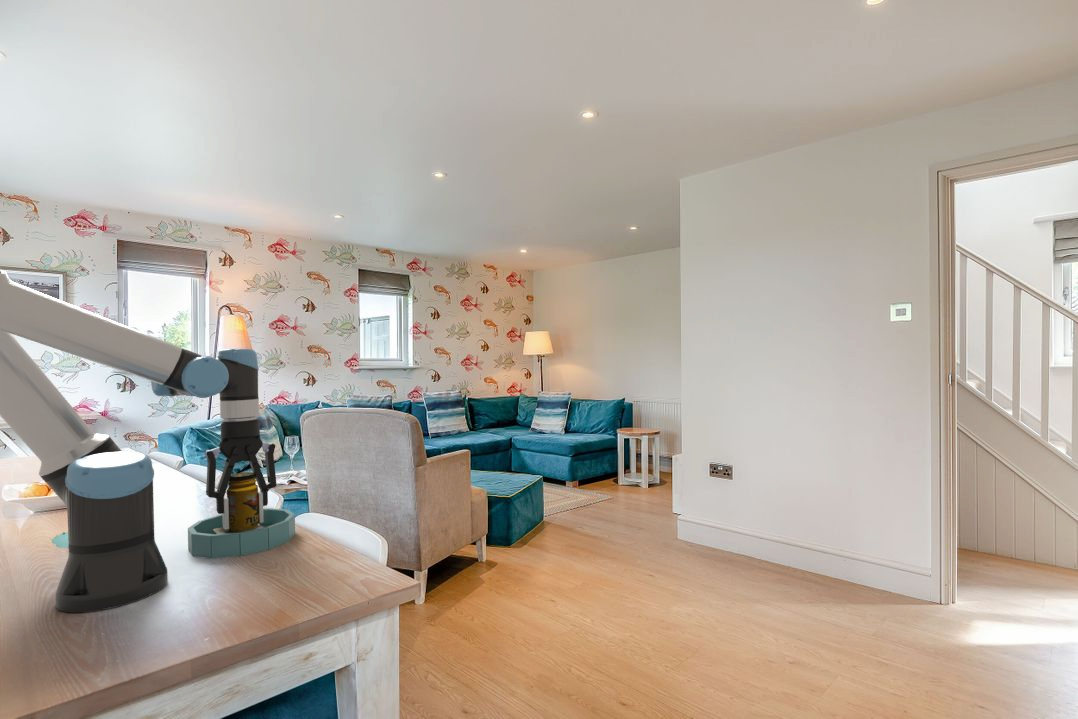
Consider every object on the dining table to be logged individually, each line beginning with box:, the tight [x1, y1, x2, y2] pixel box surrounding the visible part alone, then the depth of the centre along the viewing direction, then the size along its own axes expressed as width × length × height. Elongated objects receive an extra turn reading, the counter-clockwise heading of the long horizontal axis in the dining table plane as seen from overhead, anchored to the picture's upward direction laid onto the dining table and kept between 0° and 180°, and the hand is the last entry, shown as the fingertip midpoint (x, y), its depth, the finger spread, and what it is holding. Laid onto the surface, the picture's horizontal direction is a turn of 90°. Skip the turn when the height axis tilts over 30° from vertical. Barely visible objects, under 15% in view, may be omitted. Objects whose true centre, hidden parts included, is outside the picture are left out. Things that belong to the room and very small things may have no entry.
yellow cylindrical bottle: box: [213, 471, 264, 534], centre depth 120 cm, size 7×8×12 cm
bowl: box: [187, 507, 296, 559], centre depth 120 cm, size 20×20×4 cm
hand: (243, 524), depth 120 cm, fingers closed on yellow cylindrical bottle, 6 cm apart
